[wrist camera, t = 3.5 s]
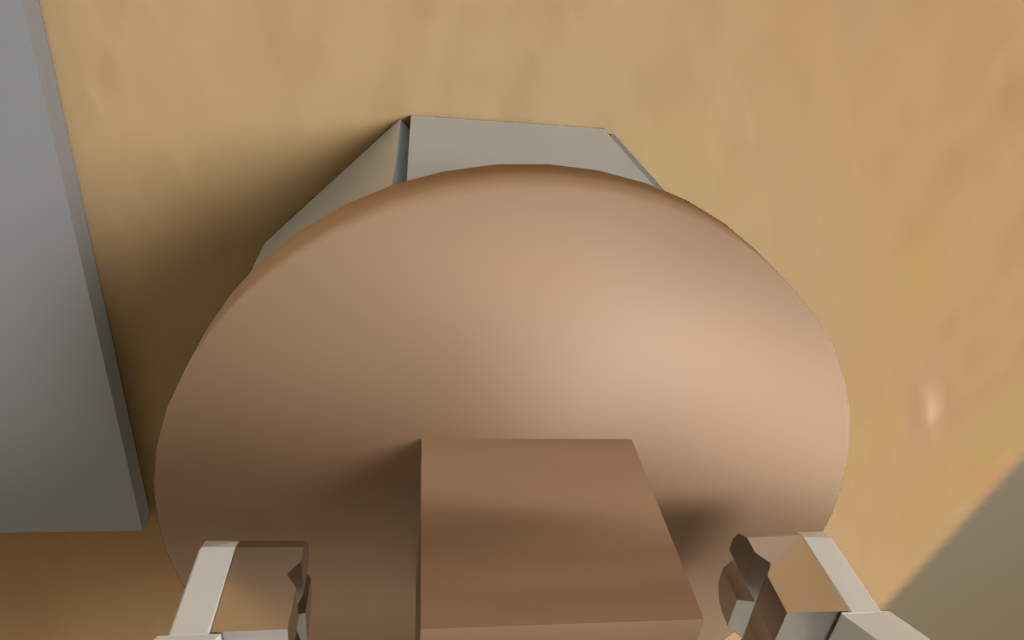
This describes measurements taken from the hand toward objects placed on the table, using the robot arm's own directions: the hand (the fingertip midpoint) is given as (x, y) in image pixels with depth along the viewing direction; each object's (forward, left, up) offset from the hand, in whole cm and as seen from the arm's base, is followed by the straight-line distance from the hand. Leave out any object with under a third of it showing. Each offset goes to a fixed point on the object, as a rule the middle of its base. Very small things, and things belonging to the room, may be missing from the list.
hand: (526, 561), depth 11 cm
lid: (0, 0, -2) cm, 2 cm away
